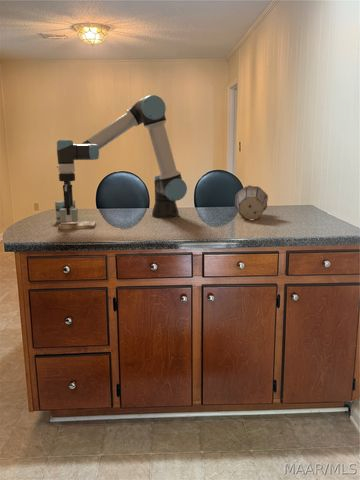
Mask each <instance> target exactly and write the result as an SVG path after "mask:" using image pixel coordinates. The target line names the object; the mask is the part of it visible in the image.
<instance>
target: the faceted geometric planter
mask: <svg viewBox="0 0 360 480" xmlns="http://www.w3.org/2000/svg"><path fill="white" fill-rule="evenodd" d="M268 199H269V195H268V194H267V192H266V191H264V190H263V189H262V188H261V187H260V186H258V185H257V186H255V185H247V186H244V187H243V188H242V189H240V190H239V191H238V192H237V193H236V194H235V196H234V208H235V209H236V210H237V211H238V214H239V216H240V217H241V218H242V219H244V220H245V219H256V220H257V219H258V218H260V217H261V216H262V215H263V214H264V212H265V211H266V210H267V208H268Z"/></svg>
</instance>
